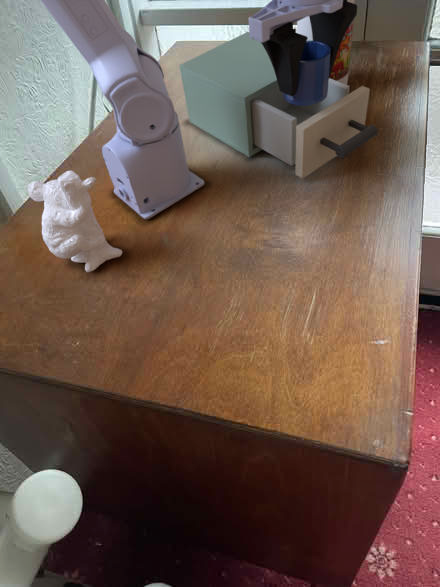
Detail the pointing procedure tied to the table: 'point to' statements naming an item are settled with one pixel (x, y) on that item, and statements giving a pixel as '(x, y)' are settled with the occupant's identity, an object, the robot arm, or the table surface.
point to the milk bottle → (343, 55)
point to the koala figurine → (72, 221)
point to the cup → (312, 75)
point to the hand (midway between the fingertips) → (305, 82)
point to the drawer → (311, 126)
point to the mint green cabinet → (228, 89)
